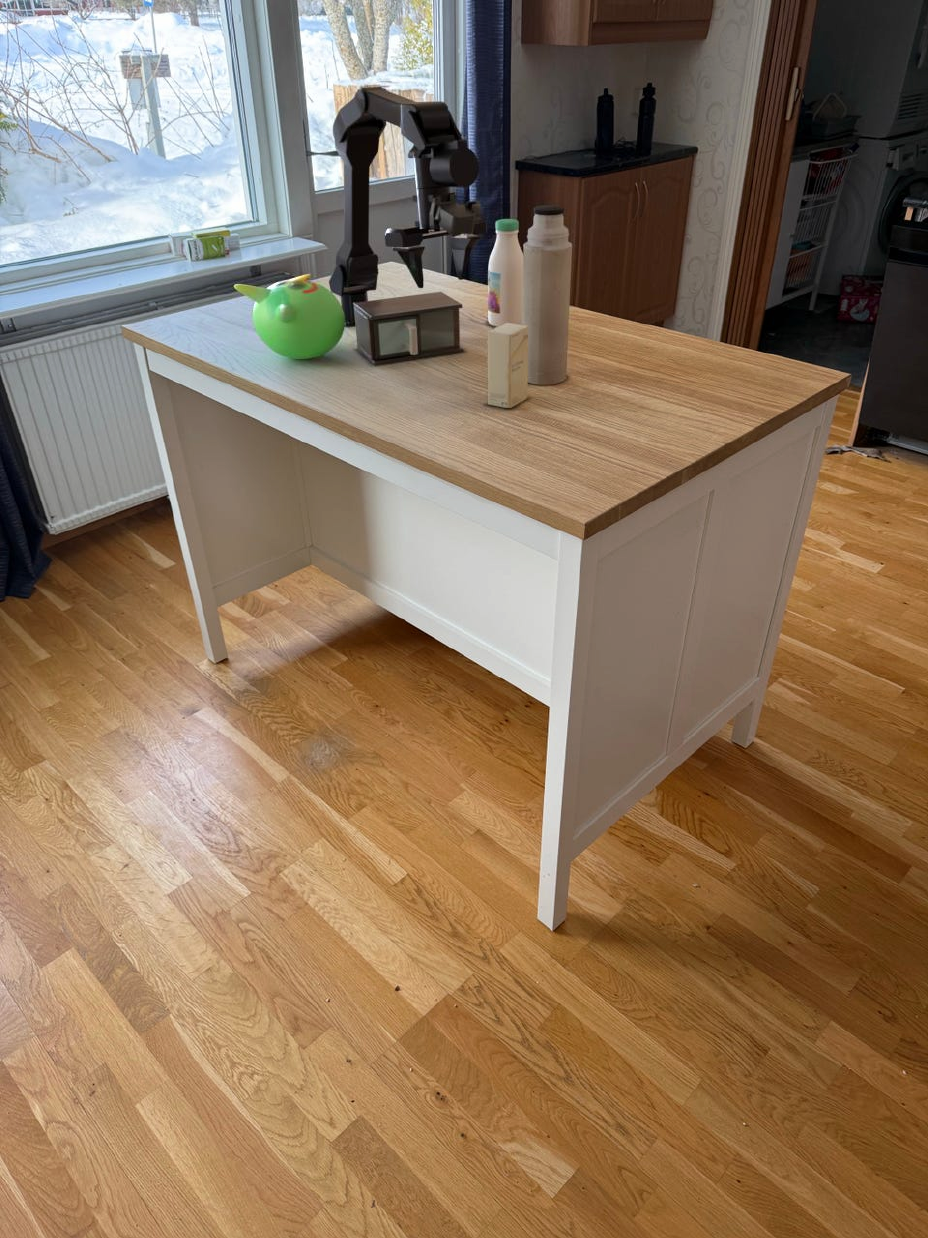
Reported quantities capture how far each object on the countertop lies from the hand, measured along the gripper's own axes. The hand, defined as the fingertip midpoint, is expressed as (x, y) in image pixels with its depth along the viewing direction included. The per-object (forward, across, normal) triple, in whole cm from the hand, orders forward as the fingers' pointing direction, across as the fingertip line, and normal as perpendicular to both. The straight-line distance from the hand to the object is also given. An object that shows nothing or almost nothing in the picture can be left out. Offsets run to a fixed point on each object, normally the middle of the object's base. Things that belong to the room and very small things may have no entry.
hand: (441, 283), depth 160 cm
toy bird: (+12, -18, +23) cm, 31 cm away
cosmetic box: (+17, -5, -22) cm, 28 cm away
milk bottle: (+13, +26, +12) cm, 32 cm away
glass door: (+13, -6, +6) cm, 15 cm away
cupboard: (+13, 0, +12) cm, 18 cm away
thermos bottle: (+16, +8, -17) cm, 25 cm away
